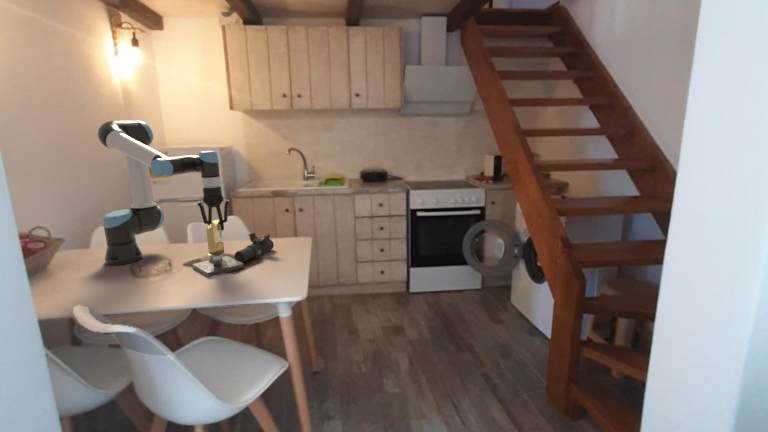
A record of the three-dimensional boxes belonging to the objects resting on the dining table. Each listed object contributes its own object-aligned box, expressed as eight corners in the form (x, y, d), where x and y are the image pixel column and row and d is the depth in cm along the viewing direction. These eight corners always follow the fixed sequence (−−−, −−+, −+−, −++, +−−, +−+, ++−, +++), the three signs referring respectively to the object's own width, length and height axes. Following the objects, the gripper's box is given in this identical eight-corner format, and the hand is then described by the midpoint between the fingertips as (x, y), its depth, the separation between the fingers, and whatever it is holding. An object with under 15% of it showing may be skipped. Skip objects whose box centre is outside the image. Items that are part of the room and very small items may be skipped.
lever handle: (205, 258, 176) (201, 229, 173) (212, 247, 191) (209, 220, 188) (220, 257, 177) (217, 228, 174) (227, 246, 193) (224, 219, 190)
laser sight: (231, 262, 194) (229, 241, 192) (262, 248, 214) (261, 229, 212) (248, 264, 191) (246, 243, 188) (278, 250, 211) (277, 231, 208)
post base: (193, 268, 186) (191, 253, 184) (227, 259, 197) (226, 245, 195) (208, 277, 175) (206, 261, 173) (243, 267, 186) (242, 252, 184)
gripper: (191, 188, 178) (198, 241, 183) (229, 186, 182) (234, 238, 187) (194, 186, 185) (200, 237, 190) (231, 184, 189) (235, 234, 194)
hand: (217, 237), depth 189 cm, fingers closed on lever handle, 2 cm apart
